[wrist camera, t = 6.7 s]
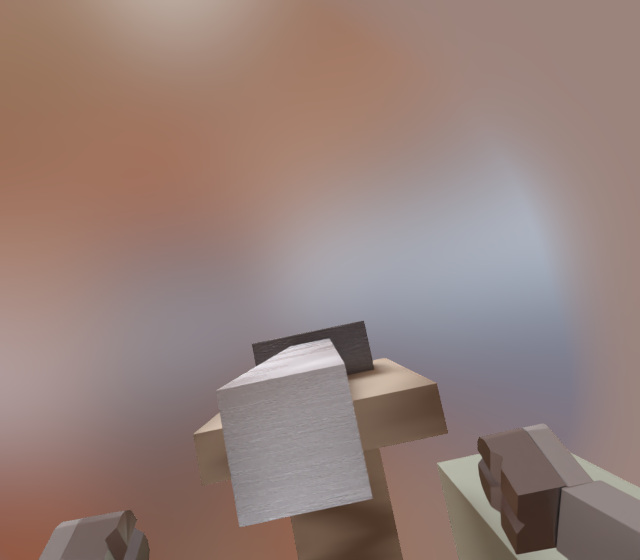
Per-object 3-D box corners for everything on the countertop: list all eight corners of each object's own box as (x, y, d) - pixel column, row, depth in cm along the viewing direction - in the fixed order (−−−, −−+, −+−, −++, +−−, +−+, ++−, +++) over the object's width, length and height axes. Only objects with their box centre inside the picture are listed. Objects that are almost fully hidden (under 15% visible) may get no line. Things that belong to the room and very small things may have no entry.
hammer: (110, 554, 7) (87, 383, 8) (269, 384, 29) (261, 341, 30) (498, 471, 7) (458, 306, 8) (367, 363, 29) (358, 321, 30)
